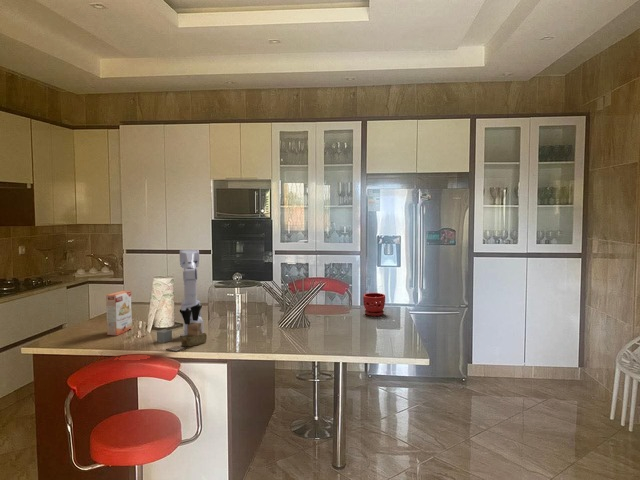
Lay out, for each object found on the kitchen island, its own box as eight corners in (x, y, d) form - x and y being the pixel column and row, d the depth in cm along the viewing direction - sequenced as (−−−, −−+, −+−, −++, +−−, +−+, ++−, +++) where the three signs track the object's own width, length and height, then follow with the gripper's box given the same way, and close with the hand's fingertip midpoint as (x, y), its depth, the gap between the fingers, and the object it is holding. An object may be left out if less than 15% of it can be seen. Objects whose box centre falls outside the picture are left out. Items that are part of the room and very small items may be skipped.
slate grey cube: (165, 339, 247) (164, 329, 247) (172, 340, 245) (171, 330, 244) (157, 341, 243) (156, 331, 243) (164, 342, 240) (163, 332, 240)
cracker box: (117, 336, 253) (115, 295, 252) (106, 335, 254) (105, 295, 253) (132, 329, 267) (131, 290, 265) (122, 328, 268) (121, 290, 267)
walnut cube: (191, 332, 240) (191, 322, 240) (201, 333, 240) (201, 322, 239) (187, 335, 235) (187, 325, 235) (197, 335, 235) (197, 325, 234)
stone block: (207, 343, 240) (207, 332, 240) (187, 348, 232) (186, 337, 231) (200, 340, 244) (200, 330, 244) (180, 346, 236) (179, 335, 235)
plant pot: (359, 313, 303) (359, 293, 302) (377, 311, 308) (377, 292, 307) (370, 317, 291) (370, 297, 290) (389, 315, 296) (389, 295, 295)
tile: (176, 346, 234) (176, 345, 234) (186, 348, 230) (186, 347, 230) (166, 350, 228) (166, 348, 228) (176, 352, 225) (176, 350, 225)
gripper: (190, 291, 245) (191, 318, 246) (174, 296, 231) (175, 325, 232) (203, 291, 243) (204, 319, 244) (188, 297, 229) (189, 326, 230)
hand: (191, 322), depth 238 cm, fingers open, 7 cm apart
